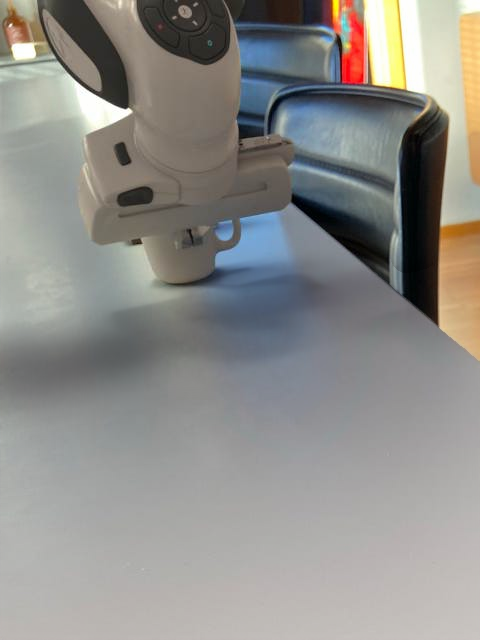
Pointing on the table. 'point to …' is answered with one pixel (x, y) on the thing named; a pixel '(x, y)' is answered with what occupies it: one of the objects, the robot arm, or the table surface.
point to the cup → (186, 256)
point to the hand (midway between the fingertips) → (189, 241)
